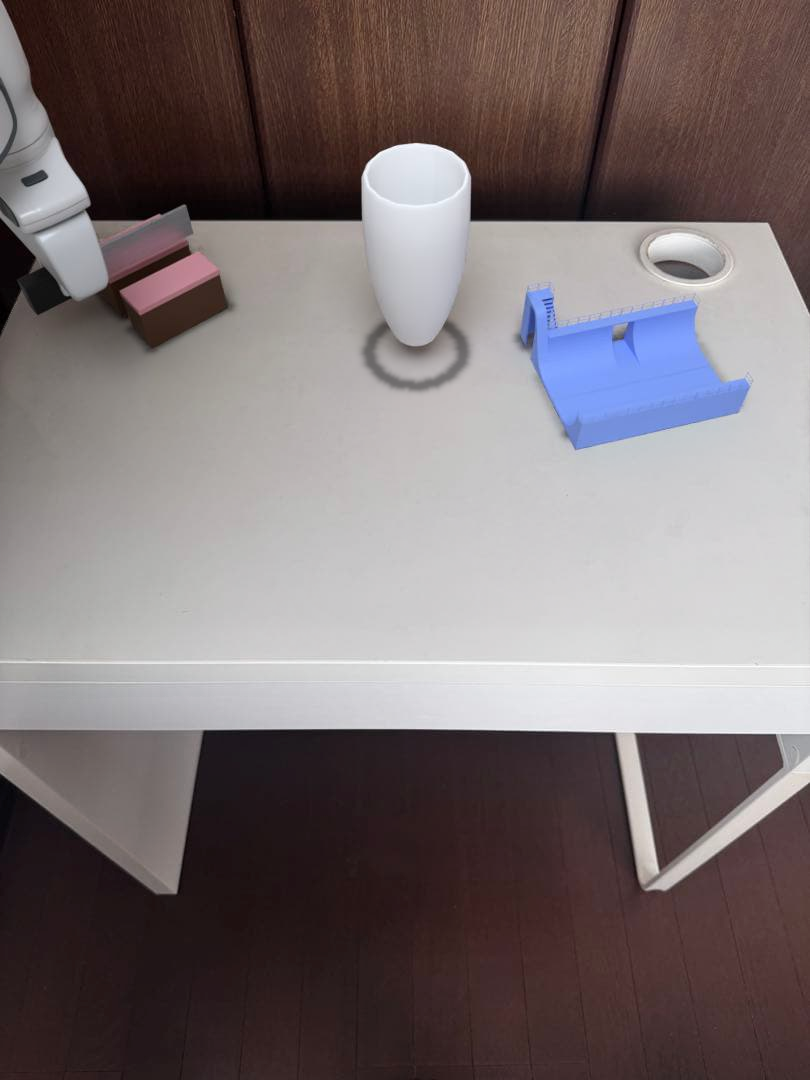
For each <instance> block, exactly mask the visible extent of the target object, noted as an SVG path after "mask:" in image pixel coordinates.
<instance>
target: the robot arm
mask: <svg viewBox="0 0 810 1080" xmlns="http://www.w3.org/2000/svg"><path fill="white" fill-rule="evenodd" d="M90 206H91V199H90V196H89V193H88V190H87V189H86V186H85V185H84V184H83V182H82V181H81V179H80V177H79V176H78V175H77V173H76V172H75V170H74V169H73V167H72V166H71V164H70V163H69V161H67V159H66V157H65V154H64V150H63V149H62V146H61V144H60V141H59V140H58V138H57V137H56V135H55V131H54V129H53V126H52V124H51V121H50V119H49V115H48V113H47V111H46V109H45V107H44V105H43V104H42V102H41V101H40V100H39V98H38V97H37V96H36V93H35V91H34V89H33V86H32V79H31V70H30V65H29V62H28V60H27V57H26V55H25V51H24V49H23V46H22V44H21V41H20V39H19V36H18V34H17V31H16V29H15V27H14V25H13V22H12V20H11V17H10V16H9V13H8V12H7V9H6V7H5V5H4V3H3V1H2V0H0V219H1V220H2V221H3V223H5V225H7V227H8V228H9V229H10V230H11V231H12V232H13V234H14V235H15V236H16V237H17V238H18V239H19V240H20V241H21V243H22V244H23V245H24V246H25V247H26V248H27V249H28V250H29V251H30V253H31V254H32V255H33V256H34V257H35V258H36V260H37V261H38V264H39V266H40V268H42V267H45V268H46V269H47V270H48V271H49V272H50V273H51V275H52V276H53V278H54V280H55V282H56V284H57V287H58V288H59V289H60V291H61V292H62V293H63V294H64V295H65V296H71V297H72V299H73V300H74V301H76V302H79V301H84V300H85V299H88V298H89V297H92V296H93V295H96V294H97V293H99V292H100V291H101V290H103V289H105V288H106V287H107V285H108V280H109V277H108V272H107V268H106V264H105V261H104V257H103V254H102V251H101V247H100V244H99V242H100V241H99V238H98V235H97V232H96V230H95V227H94V224H93V222H92V219H91V218H90V216H89V214H88V212H87V210H86V209H88V208H89V207H90Z"/></svg>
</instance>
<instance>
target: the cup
mask: <svg viewBox="0 0 810 1080" xmlns="http://www.w3.org/2000/svg"><path fill="white" fill-rule="evenodd" d="M471 195H472V176H471V173H470V170H469V168H468V165H467V163H466V162H465V161H464V160H463V159H462V158H461V157H459V156H458V155H457V153H455V152H454V151H452V150H449V149H447V148H444V147H441V146H440V145H436V144H428V143H419V142H414V143H405V144H397V145H394V146H391V147H389V148H386V149H384V150H381V151H380V152H378V153H377V154H376V155H375V156H374V157H372V158H371V159H370V160H369V161H368V162H367V163H366V164H365V167H364V170H363V172H362V175H361V227H362V235H363V243H364V252H365V260H366V266H367V269H368V273H369V277H370V280H371V284H372V287H373V290H374V294H375V298H376V300H377V303H378V304H377V305H378V307H379V309H380V311H381V313H382V316H383V318H384V320H385V322H386V324H387V325H388V327H389V329H390V331H391V332H392V334H393V335H394V336H395V338H396V339H397V340H398V342H400V343H402V344H404V345H407V346H409V347H410V346H411V347H422V346H426V345H428V344H429V343H432V342H433V341H434V339H436V338H437V336H438V334H439V333H440V331H441V330H442V328H443V327H444V325H445V323H446V321H447V320H448V317H449V315H450V313H451V311H452V308H453V307H454V303H455V301H456V297H457V294H458V291H459V287H460V284H461V281H462V277H463V274H464V269H465V266H466V261H467V253H468V244H469V235H470V227H471V201H472V200H471V199H472V197H471Z"/></svg>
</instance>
